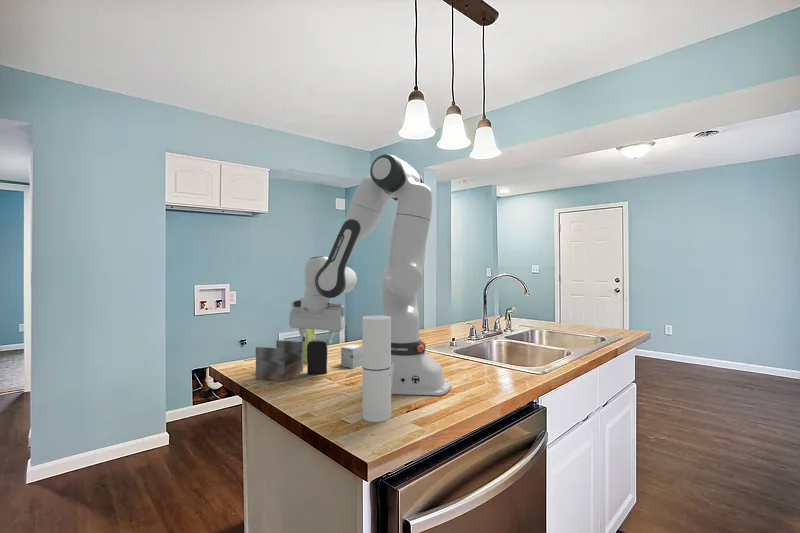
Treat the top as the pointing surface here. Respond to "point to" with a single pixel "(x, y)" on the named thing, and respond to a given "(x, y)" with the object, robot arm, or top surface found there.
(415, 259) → the robot arm
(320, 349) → the battery
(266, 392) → the top surface
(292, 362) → the cradle
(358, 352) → the skincare box
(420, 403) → the top surface
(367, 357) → the cylindrical container
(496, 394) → the top surface
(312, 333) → the tube
